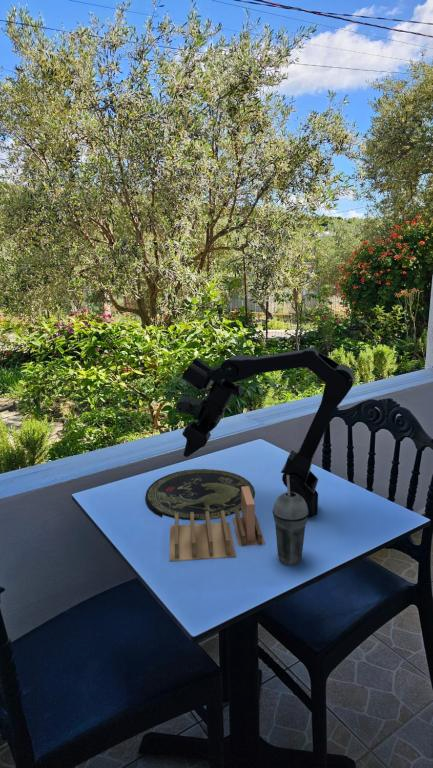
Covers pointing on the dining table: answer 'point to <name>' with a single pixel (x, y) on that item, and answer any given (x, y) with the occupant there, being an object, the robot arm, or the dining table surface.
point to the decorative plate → (197, 494)
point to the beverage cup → (290, 526)
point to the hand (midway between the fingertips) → (190, 448)
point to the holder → (241, 533)
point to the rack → (201, 540)
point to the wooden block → (248, 513)
